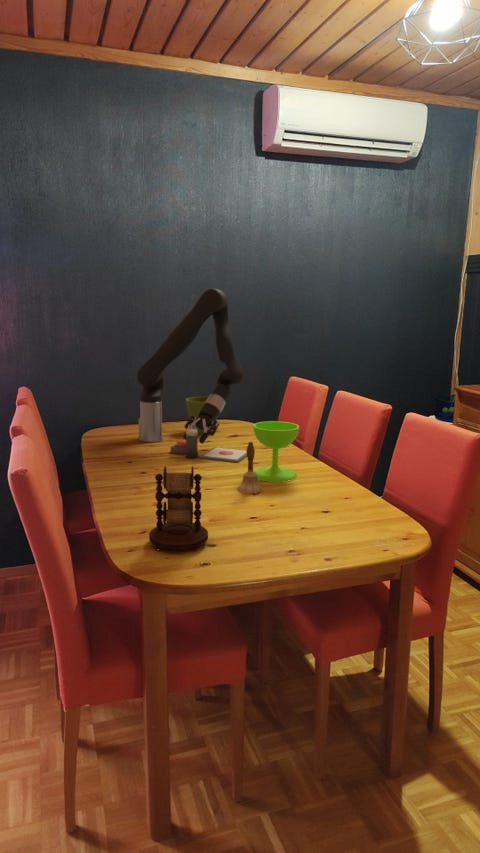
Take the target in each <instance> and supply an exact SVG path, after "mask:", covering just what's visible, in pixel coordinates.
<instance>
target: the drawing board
mask: <svg viewBox="0 0 480 853" xmlns="http://www.w3.org/2000/svg"><path fill="white" fill-rule="evenodd" d="M246 458H247V449H246V450H245V449H235V448H227V447H226V448H225V447H218V446H217V447H216V446H215V447H213V448H212V449H210V450H208V451H207V452H205V453H203V454H201V455H199V459H201V460H202V459H203V460H211V461H217V462H219V461H220V462H228V463H234V464H235V463H236V464H237V463H238V464H239V463H240V462H242V461H243V460H244V459H246Z"/></svg>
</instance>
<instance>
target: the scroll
mask: <svg viewBox="0 0 480 853" xmlns="http://www.w3.org/2000/svg"><path fill="white" fill-rule="evenodd" d="M194 471H195V470H194V466H193V465H192V466H191V472H168V471H167V466H166V465H164V466H163V474H162V473H157V474H156V475H155V477H154V480H155V483H156V484H157V485H156V488H155V490H156V492H155V495H154V496H155V500H156V506H155V507H156V511H155V515H156V519H157V521H156V526H155V527H153V528H152V529H151V530H150V531H149V532H148V533H149V536H148V539H149V542H150V543H151V544H153V545H154V546H155V549H156V550H157V549H161V548H162V549H166V550H188V549H193V548H194V550H195V549H196V550H197V549H198V550H199V548H200V546H201V545H203V544H205V542H207V541H208V538H209V531H208V529H206V528H205V527H204V526H202V523H201V521H200V520H201V519H202V518H201V516H202V510H201V505H202V504H201V503H200V502H201V501H202V492H201V484H202V482H201V480H202V479H203V478H202V475H201V474H199V473H196V474H195V473H194ZM194 474H195V475H194ZM162 484H163V485H162ZM194 484H195V485H194ZM194 486H195V487H194ZM163 489H164V490H165V492H166V493H164V492H163ZM193 489H194V493H192V490H193ZM164 498H165V499H166V500H167V501H164V502H163V499H164ZM192 499H194V502H195V504H194V503H193V501H192ZM162 502H163V503H162ZM194 520H195V522H194ZM196 550H195V551H196ZM198 550H197V551H198Z"/></svg>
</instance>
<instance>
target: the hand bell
mask: <svg viewBox="0 0 480 853" xmlns="http://www.w3.org/2000/svg"><path fill="white" fill-rule="evenodd" d="M246 450H247V457H246V458H247V471H246V472H244V473H243V476H242V477H243V478H242V482H241V484H239V486H237V488H236V489H237V491H238V492H239V491H240V492H239V493H242V492H245V493H244V494H247V493H255V492H259V491H262V489H263V487H262V486H261V485H260V483H259V480H258V477H257V474H256V473H255V472H254V458H255V452H256V451H255V446H254V443H253V442H252V441H249V442H248V444H247V448H246ZM262 492H263V491H262ZM255 494H256V493H255Z"/></svg>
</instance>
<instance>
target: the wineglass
mask: <svg viewBox="0 0 480 853" xmlns="http://www.w3.org/2000/svg"><path fill="white" fill-rule="evenodd" d="M252 426H253V432H254V435H255V438H256V440H258V442H259V443H260V444H261V445H263V446H264V447H265V448H269V449H272V459H271V462H272V463H271V466H268V467H266V466H265V467H260V468H257V469H256V470H253V472H255V473H256V474H257V477H258V479H259V480H258V481H260V480H262V481H261V482H264V481H271V482H270V483H272V482H282V483H284V482H283V481H288V480H292V479H295V478H296V477H297V478H298V475H297V472H295V471H294V470H291V469H289V468H285V467H279V464H278V463H279V461H278V460H279V450H280V449H284V448H287V447H289V446H290V445H291V444H293V442H294V441H295V440H296V439H297V438H298V435H299V432H300V431H299V430H300V426H299V424H296V423H295V422H294V423H293V422H289V421H278V420H277V421H276V420H269V421H268V420H267V421H260V422H256V423H253V425H252ZM295 480H296V479H295Z"/></svg>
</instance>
